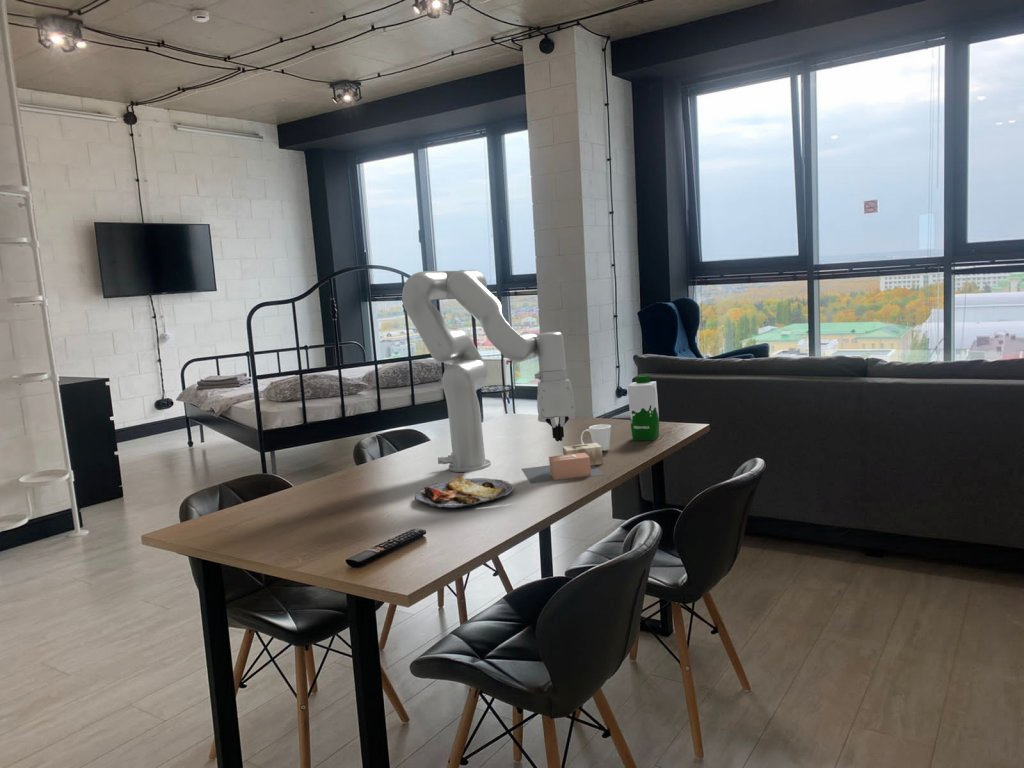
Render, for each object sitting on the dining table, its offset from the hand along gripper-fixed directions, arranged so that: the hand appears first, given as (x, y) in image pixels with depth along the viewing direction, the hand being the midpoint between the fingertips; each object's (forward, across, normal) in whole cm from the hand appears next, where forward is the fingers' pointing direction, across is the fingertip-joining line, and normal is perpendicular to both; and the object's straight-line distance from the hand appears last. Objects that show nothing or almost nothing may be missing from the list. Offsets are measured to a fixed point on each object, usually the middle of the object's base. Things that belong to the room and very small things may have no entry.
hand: (558, 440), depth 217 cm
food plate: (+8, -29, -19) cm, 36 cm away
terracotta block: (+5, -4, -11) cm, 13 cm away
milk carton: (+8, +33, +26) cm, 43 cm away
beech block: (+5, +2, 0) cm, 5 cm away
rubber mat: (+8, -1, -6) cm, 10 cm away
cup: (+8, +14, +14) cm, 21 cm away
